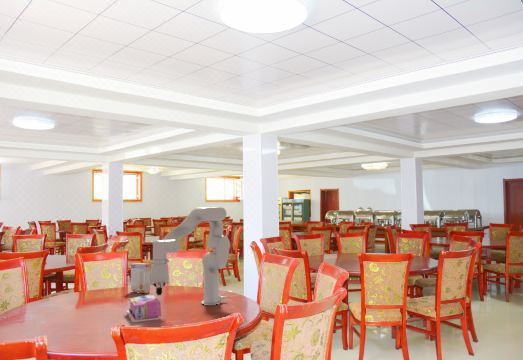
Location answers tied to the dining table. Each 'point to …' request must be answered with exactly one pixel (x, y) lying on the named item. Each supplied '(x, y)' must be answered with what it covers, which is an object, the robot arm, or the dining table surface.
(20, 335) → the dining table surface
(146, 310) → the gum box
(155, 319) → the mat
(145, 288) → the cracker box
